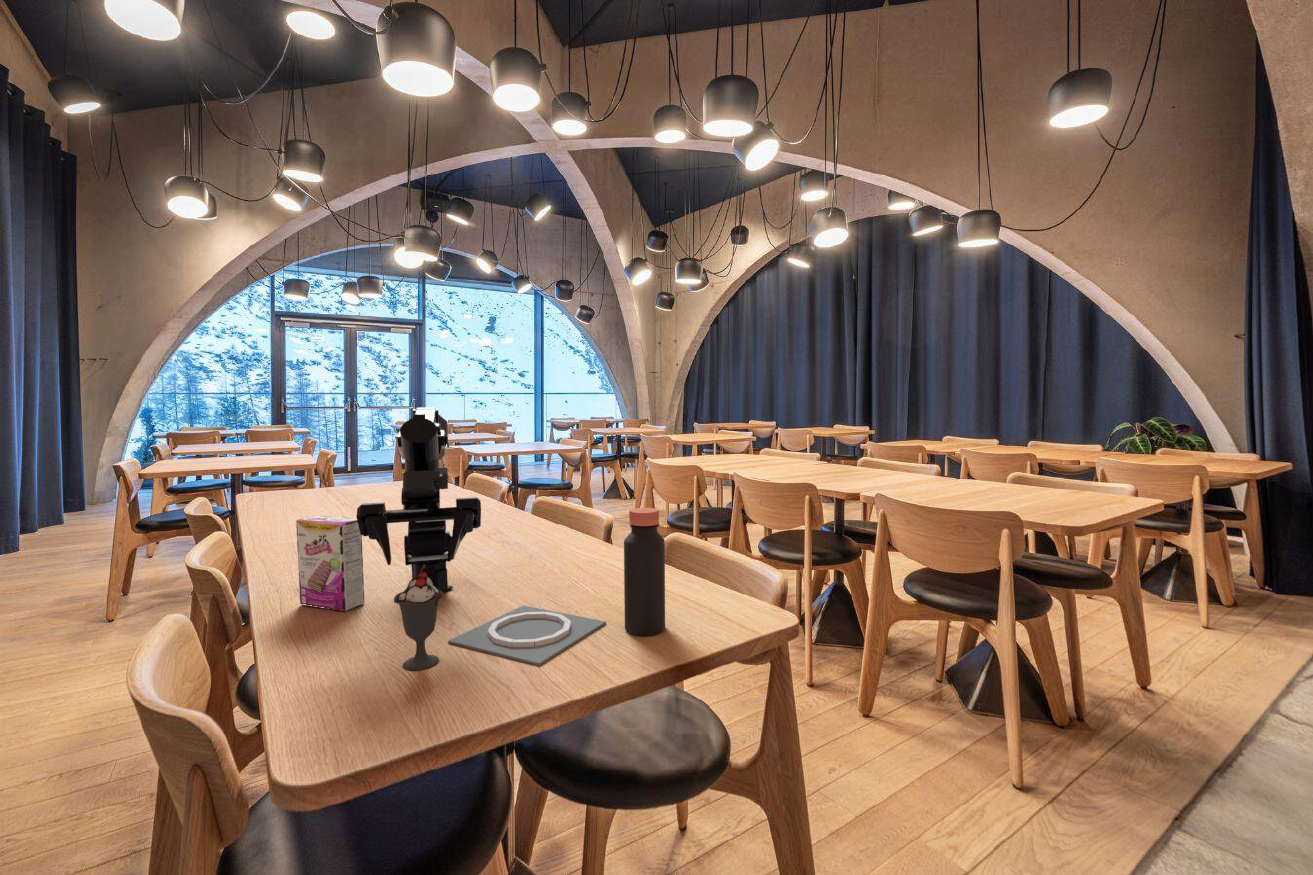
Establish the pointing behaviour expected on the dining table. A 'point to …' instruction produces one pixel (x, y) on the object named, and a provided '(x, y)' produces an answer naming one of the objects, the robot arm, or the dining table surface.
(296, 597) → the dining table surface
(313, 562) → the candy bar box
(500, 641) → the ring mat
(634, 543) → the bottle
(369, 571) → the dining table surface
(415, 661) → the sundae
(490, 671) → the dining table surface
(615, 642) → the dining table surface
